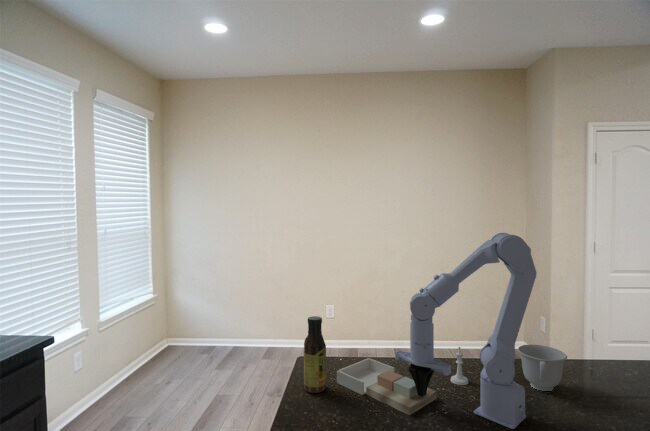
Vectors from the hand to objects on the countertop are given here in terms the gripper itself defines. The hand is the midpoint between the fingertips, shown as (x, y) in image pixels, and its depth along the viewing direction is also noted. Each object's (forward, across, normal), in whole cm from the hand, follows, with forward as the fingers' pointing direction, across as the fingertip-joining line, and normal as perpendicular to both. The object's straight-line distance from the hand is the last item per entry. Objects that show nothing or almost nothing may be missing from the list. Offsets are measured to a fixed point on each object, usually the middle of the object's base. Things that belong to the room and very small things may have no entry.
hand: (422, 394), depth 95 cm
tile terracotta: (+1, +10, -1) cm, 10 cm away
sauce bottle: (+3, +27, +12) cm, 29 cm away
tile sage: (+1, +5, 0) cm, 5 cm away
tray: (+3, +19, -2) cm, 19 cm away
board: (+3, +7, -1) cm, 7 cm away
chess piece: (+3, -1, -20) cm, 20 cm away
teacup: (+3, -20, -30) cm, 37 cm away
